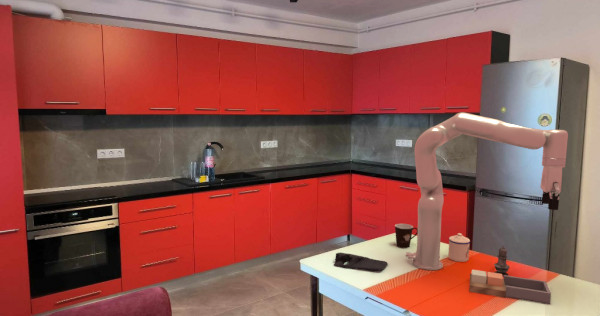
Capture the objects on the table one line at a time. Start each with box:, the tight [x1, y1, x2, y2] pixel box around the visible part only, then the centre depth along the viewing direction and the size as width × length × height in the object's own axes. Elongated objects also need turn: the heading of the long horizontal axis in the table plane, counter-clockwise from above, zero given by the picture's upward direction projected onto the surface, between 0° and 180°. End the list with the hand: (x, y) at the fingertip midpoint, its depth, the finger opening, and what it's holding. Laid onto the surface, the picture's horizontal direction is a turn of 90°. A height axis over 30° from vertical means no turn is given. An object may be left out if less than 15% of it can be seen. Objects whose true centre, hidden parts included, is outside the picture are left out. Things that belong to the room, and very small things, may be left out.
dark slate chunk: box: [333, 252, 389, 272], centre depth 178 cm, size 15×22×5 cm
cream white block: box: [471, 269, 487, 284], centre depth 156 cm, size 5×5×3 cm
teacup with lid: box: [448, 232, 471, 263], centre depth 186 cm, size 12×9×12 cm
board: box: [469, 272, 507, 298], centre depth 155 cm, size 12×12×2 cm
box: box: [503, 275, 552, 305], centre depth 150 cm, size 14×11×4 cm
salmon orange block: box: [486, 271, 504, 287], centre depth 154 cm, size 5×5×3 cm
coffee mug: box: [394, 223, 418, 249], centre depth 201 cm, size 12×9×10 cm
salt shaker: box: [493, 245, 511, 278], centre depth 168 cm, size 6×6×12 cm
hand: (549, 206), depth 157 cm, fingers open, 9 cm apart
